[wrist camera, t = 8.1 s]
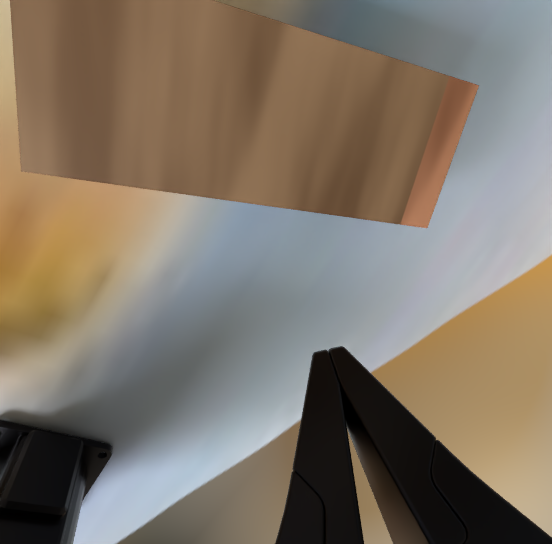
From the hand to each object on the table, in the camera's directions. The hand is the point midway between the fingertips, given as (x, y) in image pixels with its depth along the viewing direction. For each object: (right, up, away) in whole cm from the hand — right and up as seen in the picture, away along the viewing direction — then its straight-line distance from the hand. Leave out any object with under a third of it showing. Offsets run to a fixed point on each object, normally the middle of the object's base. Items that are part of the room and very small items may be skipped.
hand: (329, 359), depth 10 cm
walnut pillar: (+6, +8, +7) cm, 12 cm away
